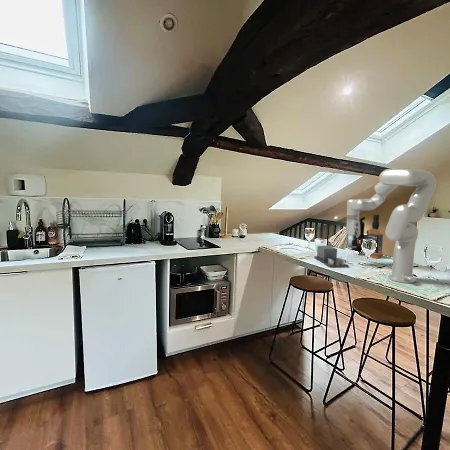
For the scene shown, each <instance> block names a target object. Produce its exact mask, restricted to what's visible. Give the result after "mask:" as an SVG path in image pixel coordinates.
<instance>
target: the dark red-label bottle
mask: <svg viewBox="0 0 450 450" xmlns="http://www.w3.org/2000/svg"><path fill="white" fill-rule="evenodd" d="M365 220H366V217H365V216H362V217H359V221H360V235H359V237H358V240H357V246H356V248H351V250H355V251H358V252H359V254H360V253H362V252H361V250H362V249H361V239H364V238H365V226H366V225H365V222H364V221H365Z"/></svg>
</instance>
